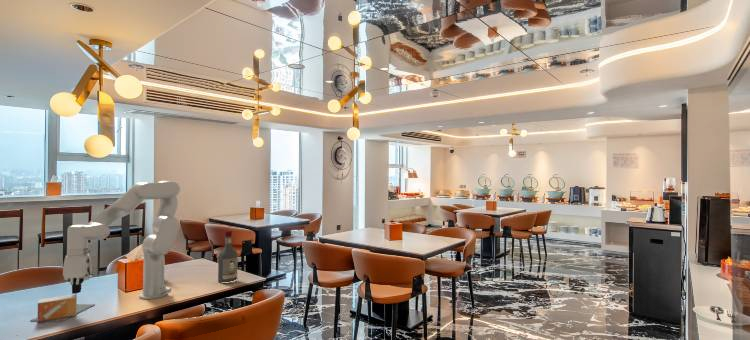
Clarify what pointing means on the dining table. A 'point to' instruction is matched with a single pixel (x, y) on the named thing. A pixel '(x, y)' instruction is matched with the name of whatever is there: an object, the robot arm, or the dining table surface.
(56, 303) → the small box
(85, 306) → the mat
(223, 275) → the liquor
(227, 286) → the dining table surface
